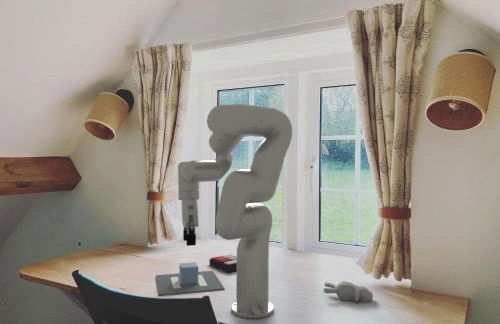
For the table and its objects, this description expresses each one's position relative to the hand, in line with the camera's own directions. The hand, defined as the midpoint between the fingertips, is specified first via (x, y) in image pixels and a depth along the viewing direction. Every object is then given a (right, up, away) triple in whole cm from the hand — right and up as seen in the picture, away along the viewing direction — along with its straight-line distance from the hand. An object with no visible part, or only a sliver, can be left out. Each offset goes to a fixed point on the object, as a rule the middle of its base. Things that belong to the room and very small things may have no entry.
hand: (189, 242), depth 136 cm
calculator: (+13, -15, +21) cm, 29 cm away
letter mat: (0, -15, 0) cm, 15 cm away
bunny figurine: (+53, -15, -15) cm, 58 cm away
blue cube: (0, -14, 0) cm, 14 cm away
